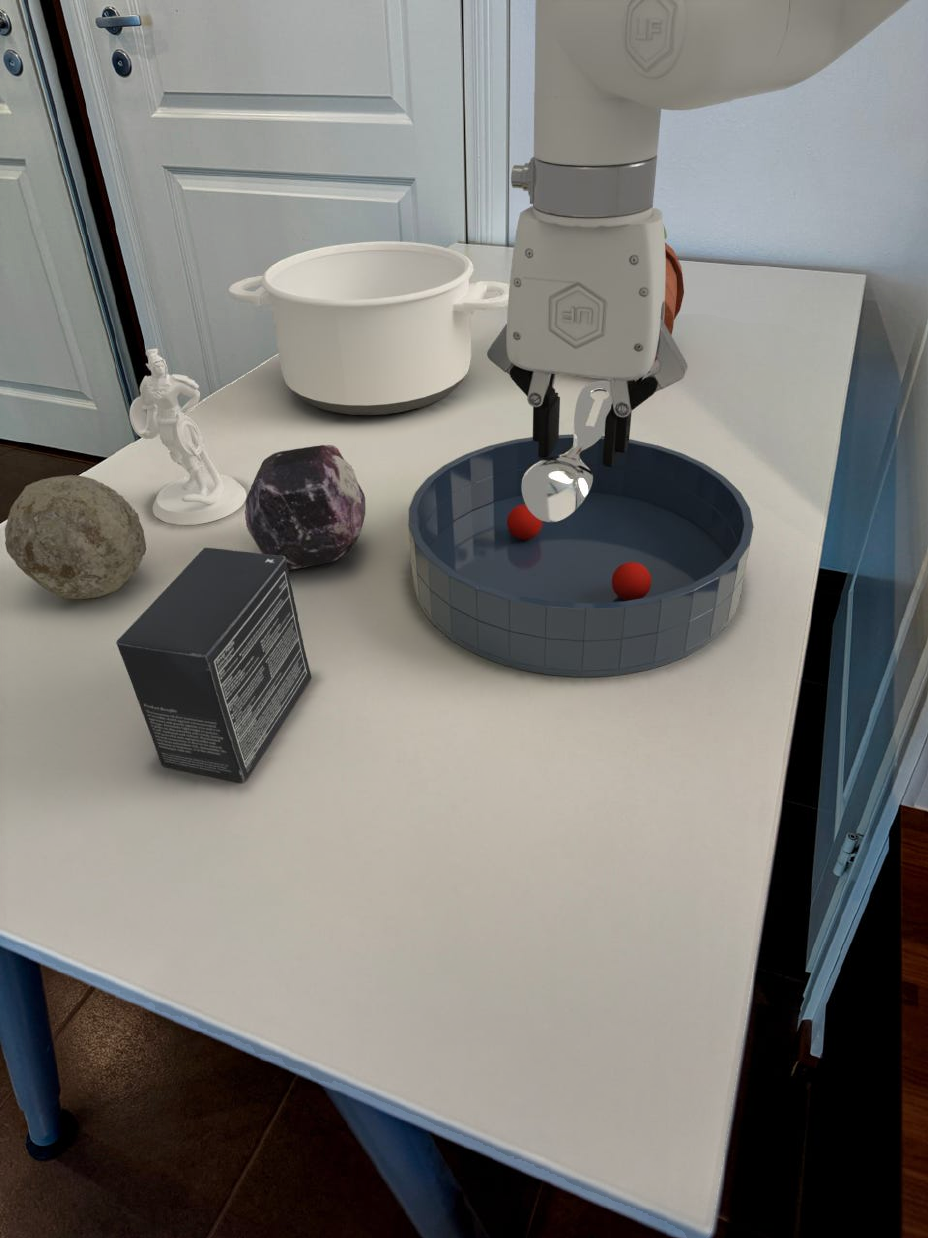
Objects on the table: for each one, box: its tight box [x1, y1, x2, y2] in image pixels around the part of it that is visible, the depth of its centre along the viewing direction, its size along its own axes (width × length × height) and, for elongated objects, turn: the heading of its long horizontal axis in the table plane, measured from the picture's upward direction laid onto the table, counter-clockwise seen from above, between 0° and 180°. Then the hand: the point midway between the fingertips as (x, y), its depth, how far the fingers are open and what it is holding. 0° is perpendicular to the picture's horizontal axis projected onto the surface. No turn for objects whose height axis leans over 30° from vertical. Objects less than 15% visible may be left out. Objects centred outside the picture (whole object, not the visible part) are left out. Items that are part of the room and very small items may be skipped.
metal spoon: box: [522, 379, 613, 522], centre depth 65 cm, size 20×4×5 cm
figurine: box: [129, 347, 248, 526], centre depth 79 cm, size 9×9×15 cm
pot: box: [228, 240, 510, 416], centre depth 100 cm, size 33×23×14 cm
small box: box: [115, 547, 312, 783], centre depth 56 cm, size 11×6×10 cm, turn 164°
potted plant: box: [654, 226, 685, 363], centre depth 112 cm, size 16×15×35 cm
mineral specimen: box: [244, 444, 366, 571], centre depth 73 cm, size 10×10×10 cm
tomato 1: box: [507, 504, 542, 540], centre depth 75 cm, size 3×3×3 cm
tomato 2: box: [612, 562, 651, 601], centre depth 67 cm, size 3×3×3 cm
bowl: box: [407, 433, 754, 678], centre depth 70 cm, size 26×26×6 cm
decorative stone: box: [4, 474, 147, 600], centre depth 70 cm, size 10×8×10 cm
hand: (579, 452), depth 66 cm, fingers closed on metal spoon, 4 cm apart
